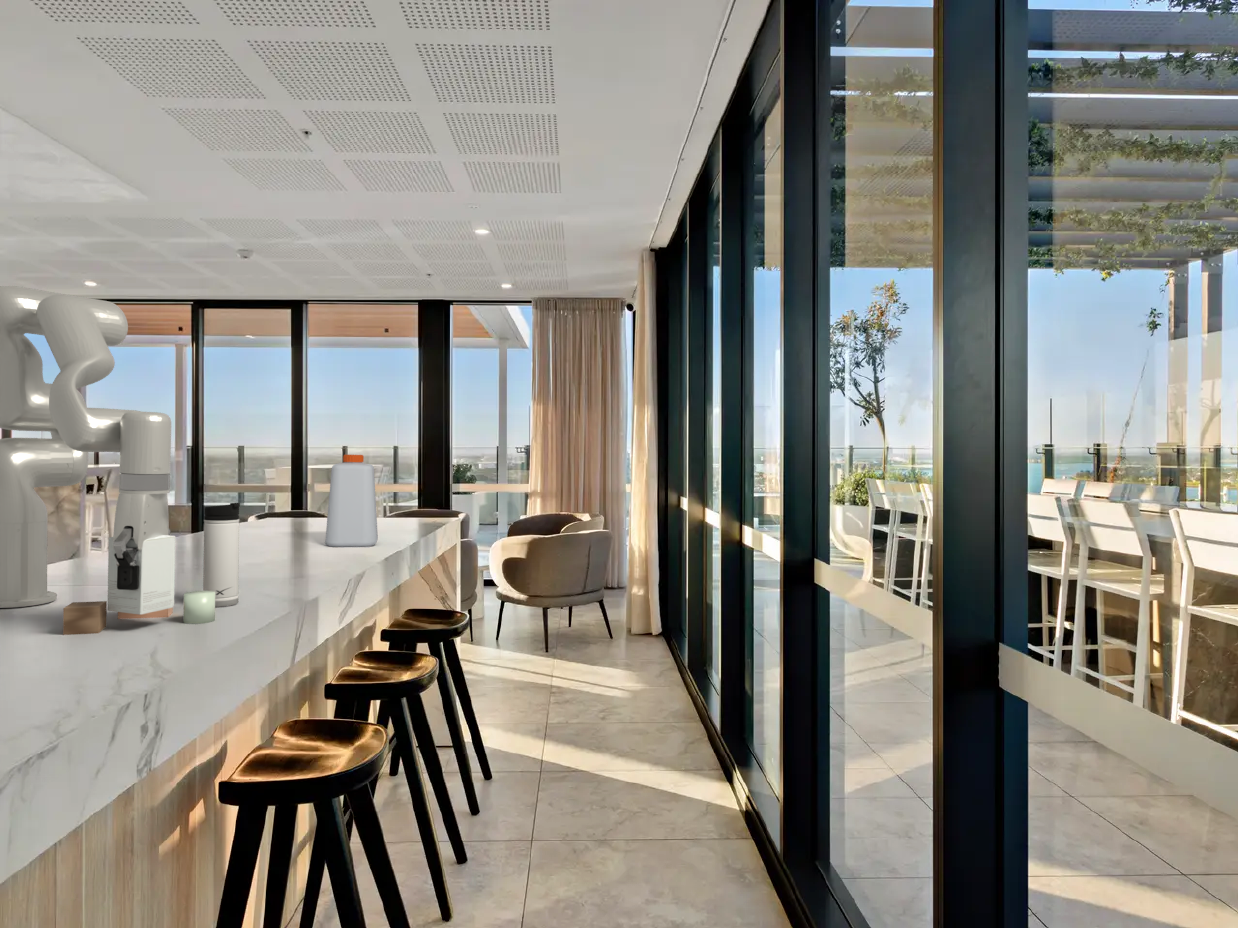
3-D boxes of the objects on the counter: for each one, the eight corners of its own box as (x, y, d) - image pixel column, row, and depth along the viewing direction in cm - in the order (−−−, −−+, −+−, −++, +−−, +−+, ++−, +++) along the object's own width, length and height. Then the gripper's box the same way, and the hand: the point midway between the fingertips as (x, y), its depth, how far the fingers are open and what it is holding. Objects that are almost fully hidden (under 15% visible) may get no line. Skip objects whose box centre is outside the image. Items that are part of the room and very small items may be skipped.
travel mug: (225, 608, 157) (227, 504, 157) (195, 606, 159) (196, 502, 158) (246, 602, 163) (248, 501, 163) (217, 600, 165) (218, 500, 164)
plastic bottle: (329, 541, 262) (330, 453, 262) (378, 541, 266) (379, 454, 265) (323, 547, 248) (325, 454, 247) (376, 547, 251) (377, 455, 251)
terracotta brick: (117, 620, 146) (117, 597, 146) (124, 615, 150) (124, 593, 150) (168, 618, 149) (168, 596, 149) (172, 613, 153) (173, 592, 152)
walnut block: (63, 635, 134) (63, 608, 134) (72, 628, 139) (72, 602, 139) (98, 633, 136) (98, 606, 136) (106, 627, 140) (106, 601, 140)
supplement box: (175, 607, 144) (177, 535, 143) (139, 615, 136) (141, 540, 136) (142, 602, 146) (144, 532, 145) (105, 611, 139) (107, 536, 138)
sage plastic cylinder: (178, 624, 144) (178, 595, 143) (190, 617, 149) (191, 590, 148) (207, 624, 144) (208, 595, 144) (219, 618, 149) (219, 590, 149)
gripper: (146, 480, 149) (144, 574, 149) (93, 486, 131) (90, 593, 132) (190, 481, 149) (187, 576, 150) (142, 488, 132) (139, 594, 133)
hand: (142, 583), depth 141 cm, fingers closed on supplement box, 9 cm apart
